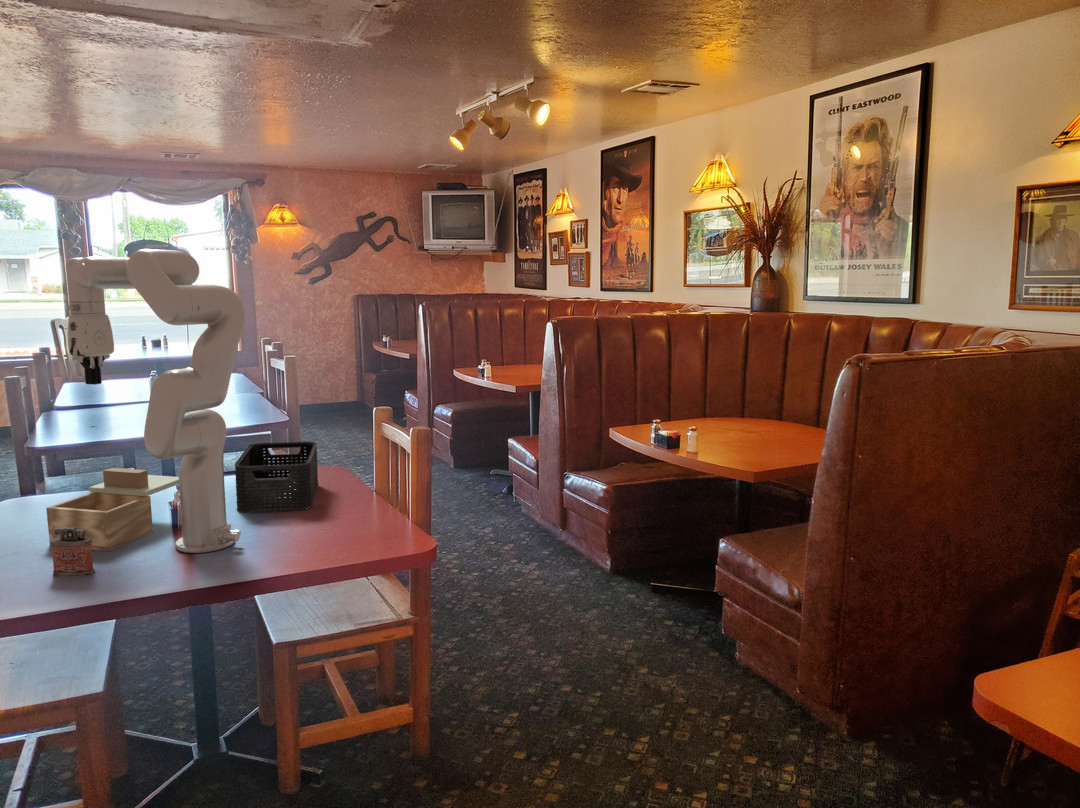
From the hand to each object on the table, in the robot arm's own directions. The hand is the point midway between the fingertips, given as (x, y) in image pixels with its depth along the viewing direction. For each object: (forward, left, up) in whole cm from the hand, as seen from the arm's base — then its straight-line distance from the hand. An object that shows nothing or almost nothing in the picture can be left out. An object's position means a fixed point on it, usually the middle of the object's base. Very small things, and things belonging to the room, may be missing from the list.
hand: (93, 383), depth 190 cm
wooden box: (-10, +12, -35) cm, 38 cm away
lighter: (-21, +32, -35) cm, 52 cm away
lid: (-10, -1, -26) cm, 28 cm away
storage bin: (-32, -30, -36) cm, 56 cm away
